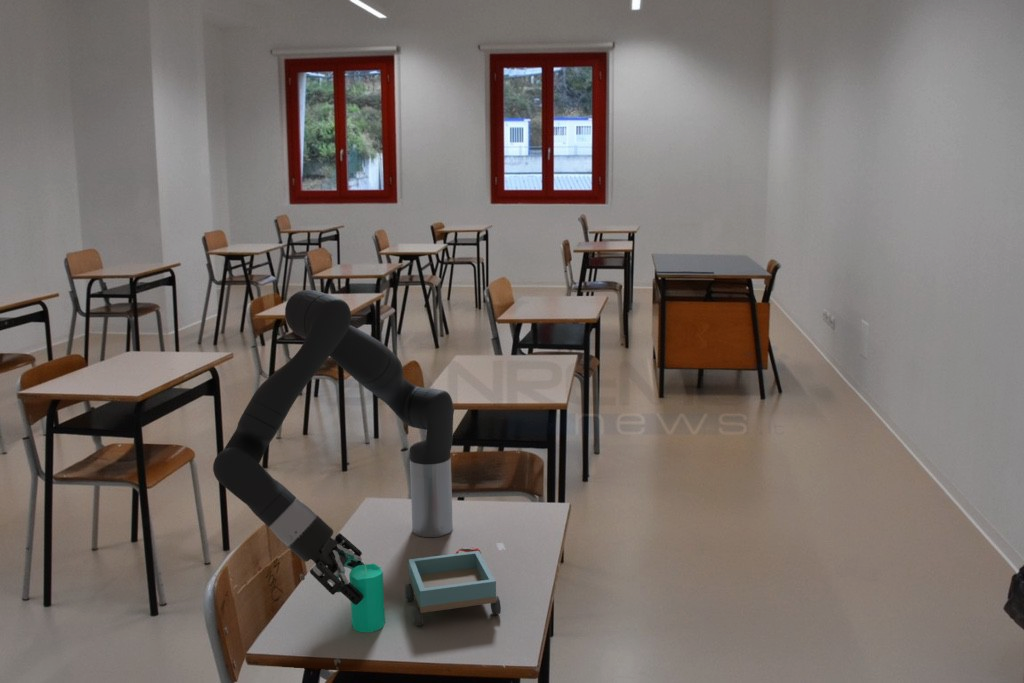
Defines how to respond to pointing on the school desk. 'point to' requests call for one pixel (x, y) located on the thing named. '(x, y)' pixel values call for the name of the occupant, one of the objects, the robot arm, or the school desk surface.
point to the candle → (368, 598)
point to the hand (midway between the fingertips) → (366, 590)
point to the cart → (450, 583)
